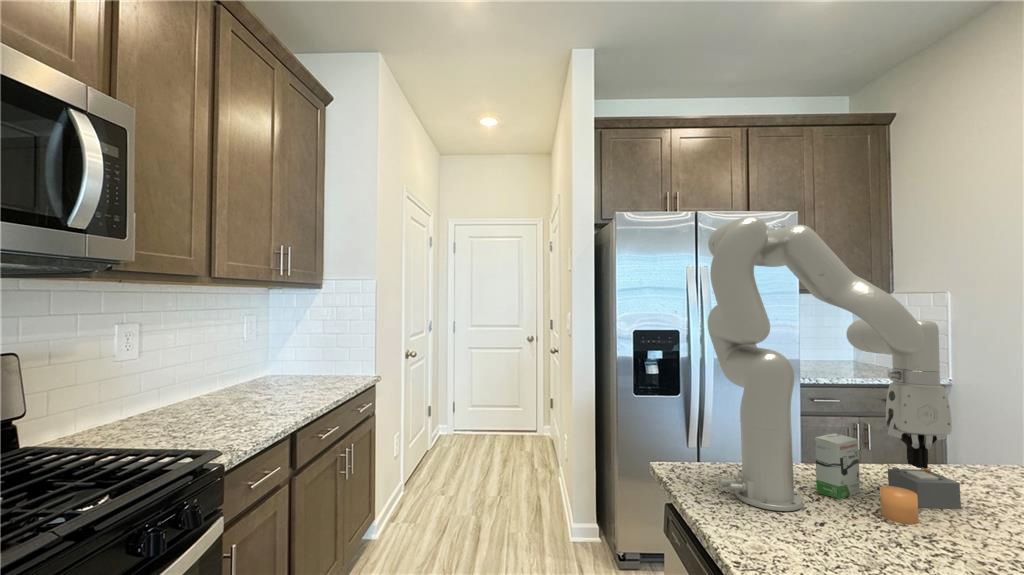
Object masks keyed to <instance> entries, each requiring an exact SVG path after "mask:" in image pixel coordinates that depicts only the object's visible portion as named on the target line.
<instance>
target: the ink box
mask: <svg viewBox="0 0 1024 575" xmlns="http://www.w3.org/2000/svg"><path fill="white" fill-rule="evenodd" d="M814 445H815V446H814V448H815V449H814V450H815V453H814V455H815V483H816V484H815V487H816V493H818V494H821V495H825V496H828V497H830V496H831V497H830V498H834V497H835V499H837V498H838V499H837V500H842V499H841V498H843V499H845V498H848V497H851V496H854V495H857V494H859V492H860V493H861V487H860V485H861V481H860V480H861V479H860V476H861V475H860V456H859V455H860V453H859V451H860V450H859V439H858V438H855V437H851V436H847V435H843V434H839V433H830V434H824V435H821V436H816V437H814ZM856 493H857V494H856ZM853 494H854V495H853ZM850 495H851V496H850ZM847 496H848V497H847ZM844 497H845V498H844Z"/></svg>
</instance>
